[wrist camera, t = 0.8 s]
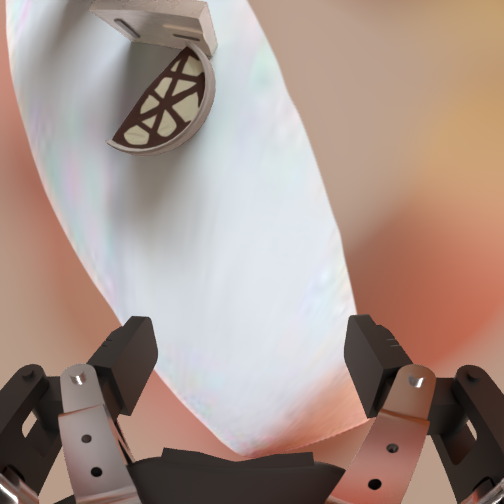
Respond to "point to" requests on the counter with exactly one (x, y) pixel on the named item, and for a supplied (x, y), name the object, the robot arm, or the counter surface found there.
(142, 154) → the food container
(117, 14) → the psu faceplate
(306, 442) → the counter surface
